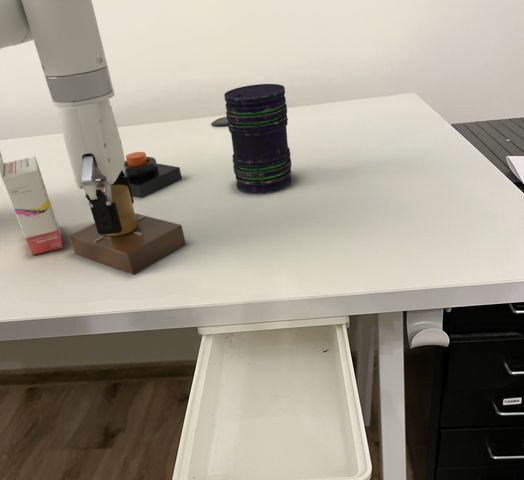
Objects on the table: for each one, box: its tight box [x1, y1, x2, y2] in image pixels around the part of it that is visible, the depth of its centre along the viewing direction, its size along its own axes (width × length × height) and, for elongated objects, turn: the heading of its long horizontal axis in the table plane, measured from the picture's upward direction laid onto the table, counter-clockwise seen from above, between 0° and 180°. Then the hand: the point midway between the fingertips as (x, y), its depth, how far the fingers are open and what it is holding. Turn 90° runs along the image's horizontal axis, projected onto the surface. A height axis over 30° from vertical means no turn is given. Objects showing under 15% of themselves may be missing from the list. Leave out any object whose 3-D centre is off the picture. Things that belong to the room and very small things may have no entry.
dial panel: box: [69, 212, 186, 275], centre depth 79 cm, size 13×10×3 cm
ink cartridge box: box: [0, 151, 64, 256], centre depth 81 cm, size 9×5×15 cm, turn 22°
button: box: [125, 151, 148, 167], centre depth 100 cm, size 4×4×2 cm
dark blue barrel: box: [223, 83, 293, 195], centre depth 91 cm, size 10×10×15 cm
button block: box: [100, 156, 183, 199], centre depth 101 cm, size 11×10×4 cm
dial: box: [99, 185, 138, 236], centre depth 77 cm, size 5×5×6 cm
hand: (117, 218), depth 77 cm, fingers open, 9 cm apart
